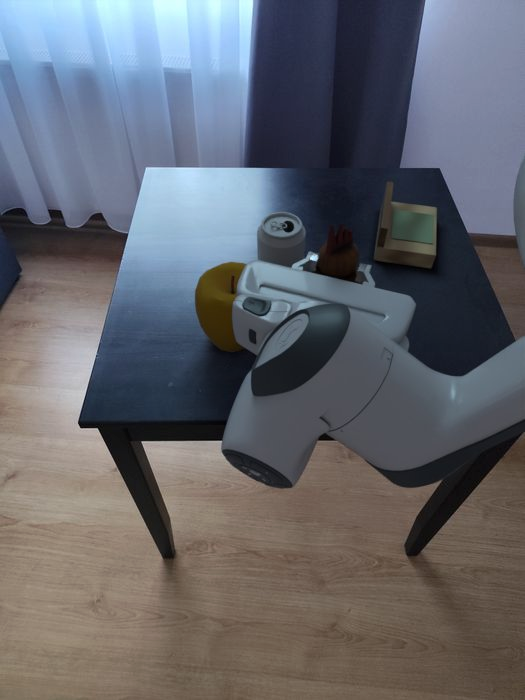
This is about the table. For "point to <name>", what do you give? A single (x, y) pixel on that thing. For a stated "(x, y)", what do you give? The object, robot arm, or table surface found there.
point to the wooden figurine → (339, 256)
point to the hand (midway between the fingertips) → (339, 262)
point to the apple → (219, 304)
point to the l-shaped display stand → (406, 233)
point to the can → (281, 239)
